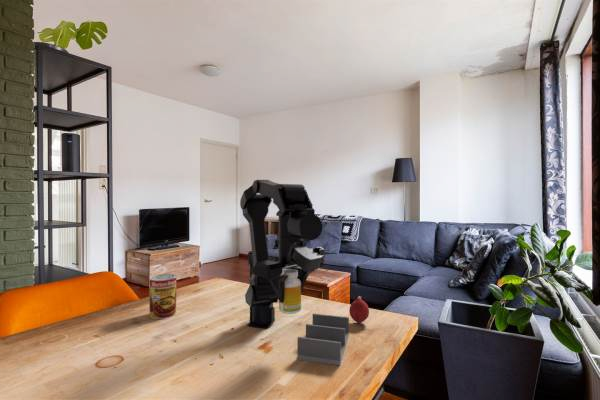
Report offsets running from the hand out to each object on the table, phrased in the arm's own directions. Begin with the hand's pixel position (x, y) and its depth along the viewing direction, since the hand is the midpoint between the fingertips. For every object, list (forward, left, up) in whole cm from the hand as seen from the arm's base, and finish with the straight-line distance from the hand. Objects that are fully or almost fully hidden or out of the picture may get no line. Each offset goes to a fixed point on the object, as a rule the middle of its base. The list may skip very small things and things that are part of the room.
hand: (290, 299), depth 76 cm
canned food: (-46, +12, -13) cm, 49 cm away
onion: (+15, +22, -13) cm, 29 cm away
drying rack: (+8, +5, -13) cm, 16 cm away
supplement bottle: (0, 0, -3) cm, 3 cm away
